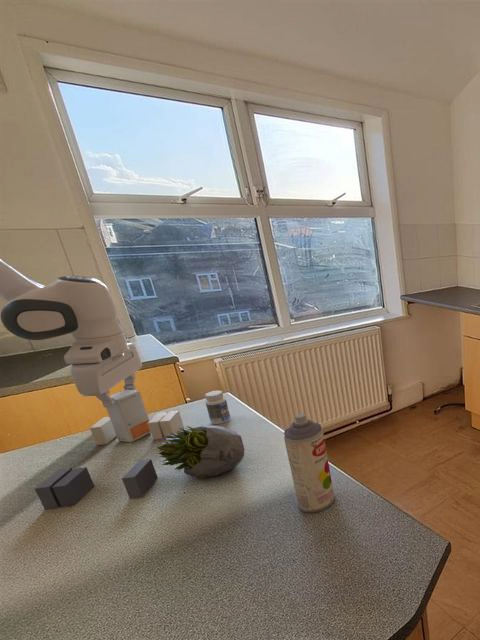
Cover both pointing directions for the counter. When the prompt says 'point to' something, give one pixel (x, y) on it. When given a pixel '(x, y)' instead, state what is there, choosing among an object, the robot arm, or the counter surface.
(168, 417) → the white blocks
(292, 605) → the counter surface
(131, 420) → the cosmetic box
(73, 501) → the dark grey blocks
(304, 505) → the aerosol can
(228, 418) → the pill bottle
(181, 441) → the potted plant
